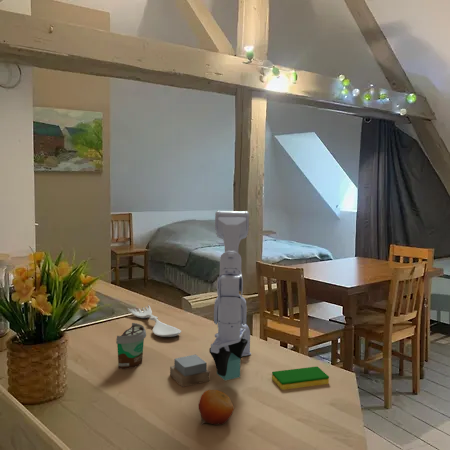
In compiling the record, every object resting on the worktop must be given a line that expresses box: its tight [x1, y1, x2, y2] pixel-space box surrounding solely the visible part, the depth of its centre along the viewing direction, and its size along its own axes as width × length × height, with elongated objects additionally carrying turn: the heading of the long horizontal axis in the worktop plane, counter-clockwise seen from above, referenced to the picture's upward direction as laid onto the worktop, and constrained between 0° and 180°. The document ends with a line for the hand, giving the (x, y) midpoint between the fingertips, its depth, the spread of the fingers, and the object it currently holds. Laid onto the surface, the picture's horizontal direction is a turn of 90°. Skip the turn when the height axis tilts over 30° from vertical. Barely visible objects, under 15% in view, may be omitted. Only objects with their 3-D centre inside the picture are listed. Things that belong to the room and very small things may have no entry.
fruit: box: [198, 389, 235, 426], centre depth 118 cm, size 8×8×8 cm
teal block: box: [216, 353, 241, 381], centre depth 135 cm, size 4×4×5 cm
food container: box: [115, 322, 147, 370], centre depth 149 cm, size 12×6×10 cm, turn 168°
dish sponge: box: [271, 366, 330, 390], centre depth 139 cm, size 7×14×2 cm, turn 107°
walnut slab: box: [169, 365, 210, 388], centre depth 140 cm, size 8×8×3 cm
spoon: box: [127, 304, 182, 338], centre depth 181 cm, size 9×32×4 cm, turn 30°
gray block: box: [173, 354, 208, 376], centre depth 139 cm, size 6×6×2 cm
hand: (228, 370), depth 135 cm, fingers closed on teal block, 6 cm apart
